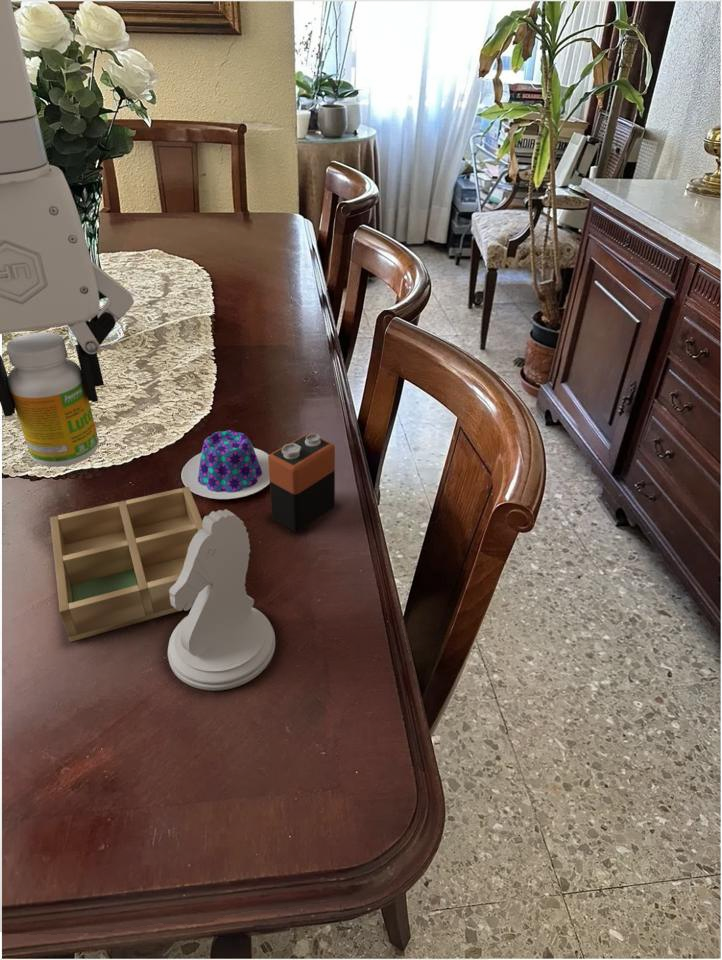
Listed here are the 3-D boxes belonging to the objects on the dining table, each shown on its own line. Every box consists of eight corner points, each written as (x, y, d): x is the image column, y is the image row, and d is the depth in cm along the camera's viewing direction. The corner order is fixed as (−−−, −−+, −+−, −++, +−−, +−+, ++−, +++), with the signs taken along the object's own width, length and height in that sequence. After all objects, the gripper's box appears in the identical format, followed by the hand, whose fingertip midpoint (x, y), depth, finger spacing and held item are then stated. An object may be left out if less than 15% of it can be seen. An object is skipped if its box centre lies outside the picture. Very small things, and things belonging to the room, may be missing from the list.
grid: (70, 642, 62) (59, 611, 60) (58, 546, 73) (49, 517, 70) (225, 597, 67) (221, 568, 65) (193, 514, 78) (188, 486, 76)
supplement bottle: (86, 470, 53) (56, 358, 47) (19, 468, 53) (-19, 356, 47) (108, 434, 57) (83, 328, 52) (46, 433, 57) (15, 327, 52)
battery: (270, 519, 77) (265, 447, 72) (310, 493, 82) (308, 423, 76) (297, 535, 75) (294, 462, 69) (336, 508, 80) (336, 437, 74)
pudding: (171, 463, 87) (165, 428, 84) (258, 442, 91) (255, 409, 88) (197, 514, 78) (191, 478, 75) (291, 488, 83) (290, 453, 80)
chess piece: (146, 651, 61) (115, 526, 52) (227, 593, 67) (211, 473, 59) (216, 710, 56) (195, 583, 48) (297, 642, 62) (291, 518, 54)
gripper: (-194, 167, 36) (-75, 446, 47) (129, 152, 42) (170, 403, 53) (-168, 145, 42) (-67, 399, 52) (114, 135, 48) (153, 364, 58)
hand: (51, 399), depth 52 cm, fingers closed on supplement bottle, 5 cm apart
